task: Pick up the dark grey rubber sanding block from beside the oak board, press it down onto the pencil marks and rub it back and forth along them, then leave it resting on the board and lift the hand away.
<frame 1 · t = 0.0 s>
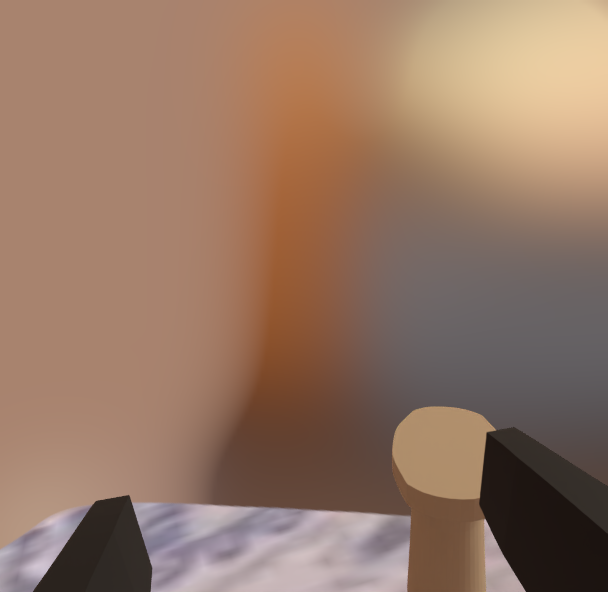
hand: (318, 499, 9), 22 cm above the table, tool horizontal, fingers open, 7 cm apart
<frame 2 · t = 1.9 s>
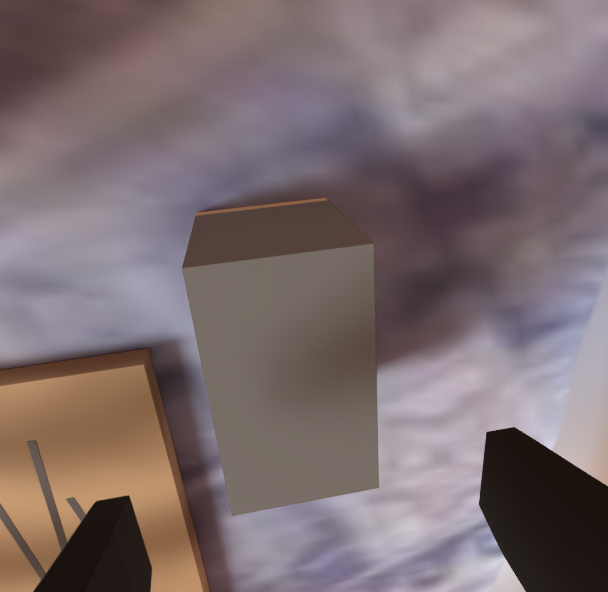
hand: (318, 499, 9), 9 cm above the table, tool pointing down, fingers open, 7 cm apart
oak board: (49, 525, 20), on the table
sanding block: (273, 305, 18), on the table
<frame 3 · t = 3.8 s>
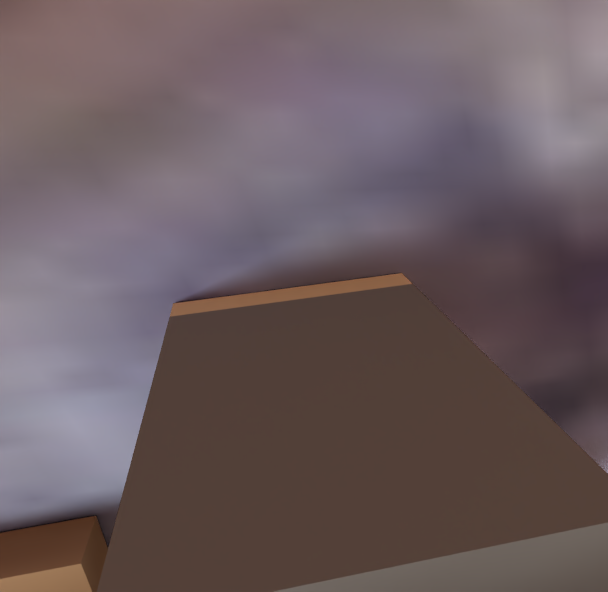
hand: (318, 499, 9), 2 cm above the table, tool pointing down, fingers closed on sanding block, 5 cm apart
sanding block: (305, 444, 11), on the table, touching gripper
when the fingers open (3 cm above the table, at t = 13.2 s): sanding block stays where it is, resting on oak board.
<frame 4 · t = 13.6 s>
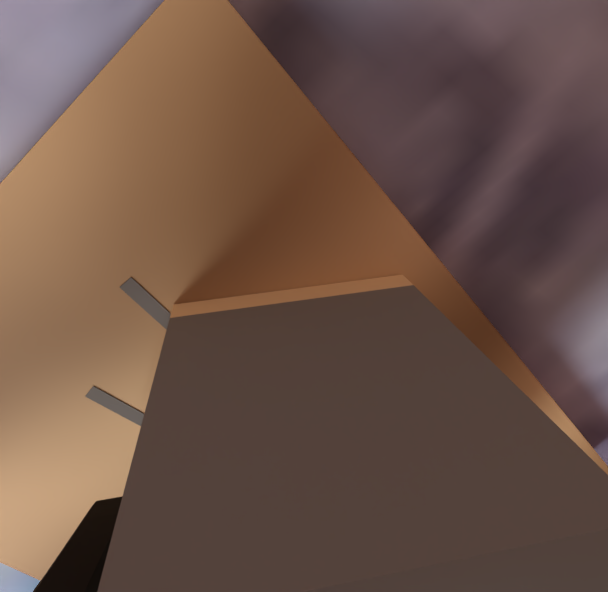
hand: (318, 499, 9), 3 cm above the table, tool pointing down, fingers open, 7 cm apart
oak board: (271, 437, 12), on the table
sanding block: (306, 446, 11), point 1 cm above the table, touching oak board
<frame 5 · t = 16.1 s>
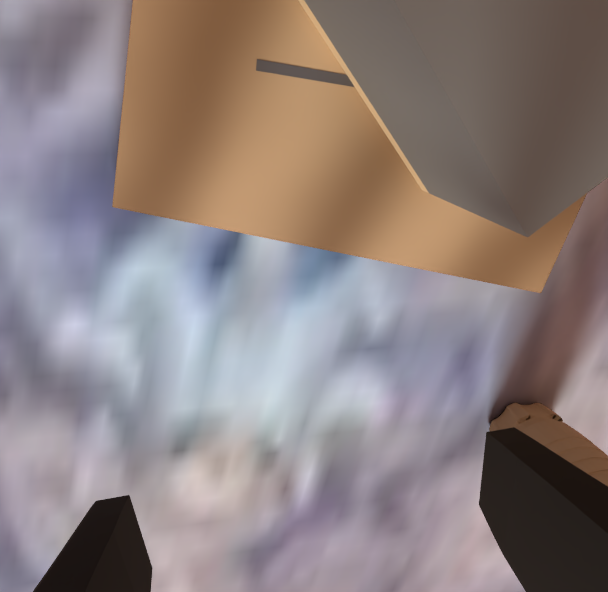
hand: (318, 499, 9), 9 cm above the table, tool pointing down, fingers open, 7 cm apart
oak board: (392, 74, 15), on the table
handle: (513, 422, 22), on the table
sanding block: (416, 36, 14), point 1 cm above the table, touching oak board
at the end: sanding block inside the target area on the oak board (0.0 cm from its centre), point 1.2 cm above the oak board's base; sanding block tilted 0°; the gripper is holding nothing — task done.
